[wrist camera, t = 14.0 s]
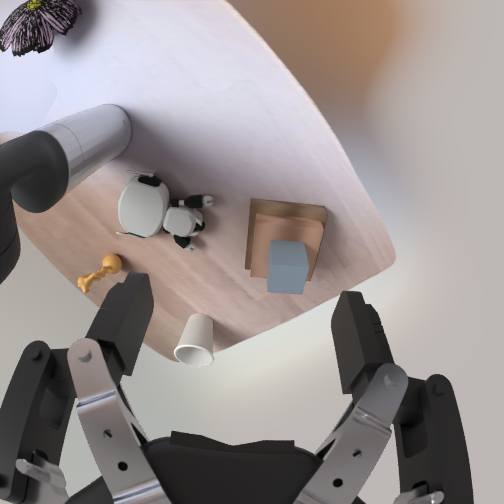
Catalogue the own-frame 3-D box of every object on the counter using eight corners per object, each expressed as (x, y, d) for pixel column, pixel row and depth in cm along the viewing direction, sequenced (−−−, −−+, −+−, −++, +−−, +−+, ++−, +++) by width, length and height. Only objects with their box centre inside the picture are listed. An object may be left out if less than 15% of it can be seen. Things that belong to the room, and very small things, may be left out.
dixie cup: (214, 336, 66) (208, 371, 58) (180, 326, 64) (171, 361, 56) (223, 315, 61) (218, 352, 53) (186, 304, 60) (176, 341, 51)
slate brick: (267, 265, 45) (267, 292, 40) (270, 239, 42) (271, 264, 37) (298, 268, 45) (302, 294, 40) (304, 242, 42) (309, 267, 37)
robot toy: (218, 187, 45) (132, 160, 41) (216, 200, 41) (122, 170, 37) (196, 245, 52) (120, 221, 48) (193, 260, 48) (112, 235, 44)
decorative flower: (73, 2, 18) (-13, 65, 17) (99, 36, 29) (25, 82, 28) (69, -46, 13) (-8, 8, 13) (89, -13, 25) (22, 29, 24)
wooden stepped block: (245, 258, 52) (243, 280, 47) (250, 198, 45) (249, 216, 40) (310, 264, 52) (314, 285, 47) (324, 206, 45) (331, 224, 40)
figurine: (111, 272, 55) (88, 312, 45) (92, 252, 52) (65, 291, 43) (134, 256, 52) (111, 299, 43) (114, 234, 50) (86, 274, 40)
